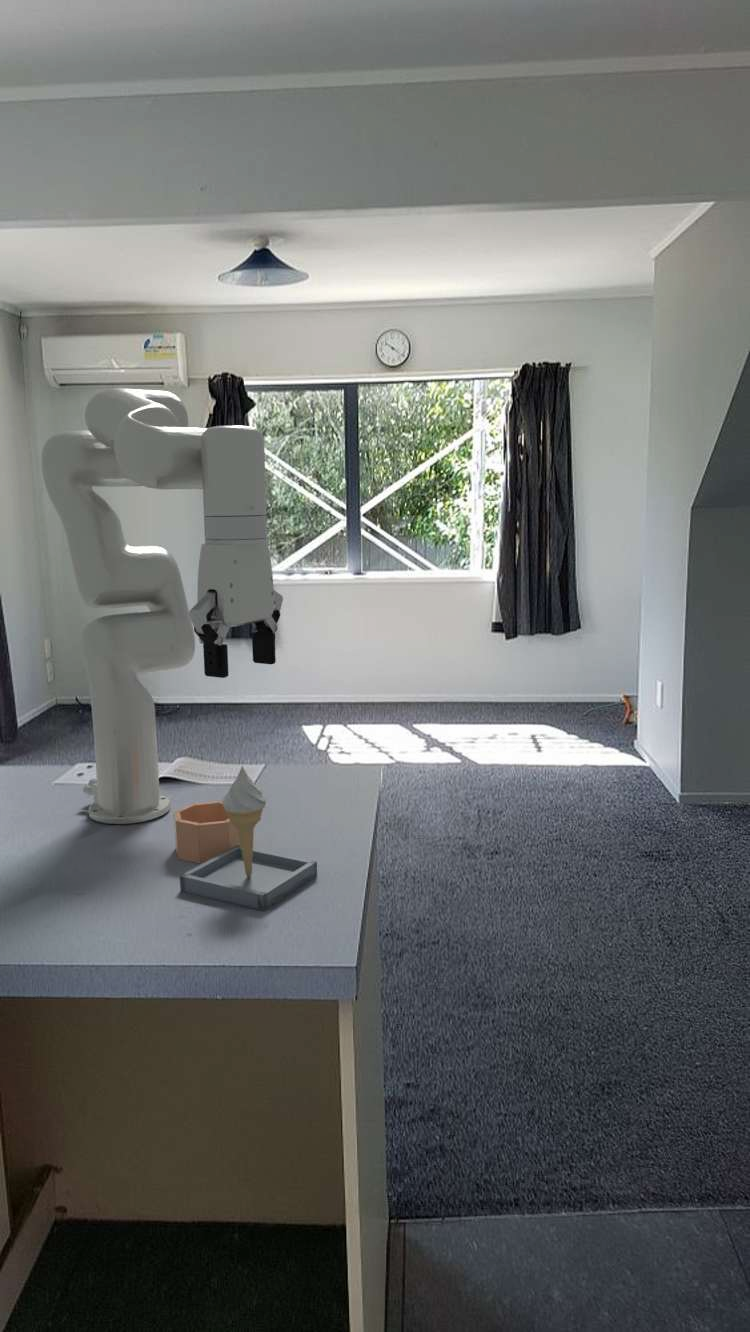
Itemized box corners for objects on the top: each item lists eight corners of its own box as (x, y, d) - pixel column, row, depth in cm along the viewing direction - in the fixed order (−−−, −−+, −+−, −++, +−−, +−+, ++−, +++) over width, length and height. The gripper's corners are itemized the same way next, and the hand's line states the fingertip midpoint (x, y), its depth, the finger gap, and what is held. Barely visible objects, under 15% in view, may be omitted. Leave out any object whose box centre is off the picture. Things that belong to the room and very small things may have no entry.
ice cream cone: (262, 887, 121) (256, 773, 118) (220, 884, 122) (213, 771, 119) (275, 869, 126) (270, 760, 123) (235, 867, 127) (228, 759, 124)
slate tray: (180, 890, 122) (179, 875, 122) (237, 858, 132) (237, 845, 132) (263, 910, 116) (263, 895, 115) (317, 875, 126) (316, 861, 126)
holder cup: (162, 855, 134) (160, 817, 133) (206, 833, 142) (204, 798, 141) (216, 867, 129) (214, 828, 128) (258, 844, 138) (257, 807, 137)
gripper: (253, 527, 125) (257, 656, 128) (163, 534, 110) (171, 679, 113) (301, 528, 121) (304, 660, 125) (215, 534, 107) (221, 685, 110)
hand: (241, 669), depth 119 cm, fingers open, 9 cm apart
